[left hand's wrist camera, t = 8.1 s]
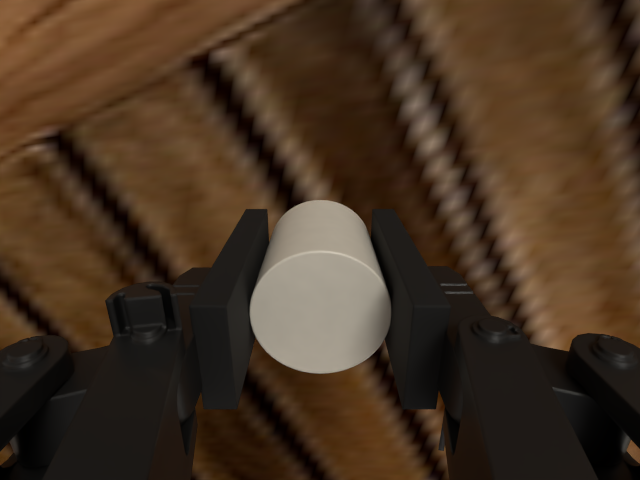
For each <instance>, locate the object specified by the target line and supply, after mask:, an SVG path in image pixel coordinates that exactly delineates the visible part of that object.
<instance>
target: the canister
mask: <svg viewBox="0 0 640 480" xmlns="http://www.w3.org/2000/svg"><path fill="white" fill-rule="evenodd" d="M391 309H392V307H391V299H390V296H389V292H388V289H387V286H386V283H385V280H384V277H383V274H382V271H381V269H380V266H379V263H378V260H377V257H376V254H375V251H374V248H373V245H372V242H371V239H370V236H369V233H368V230H367V228H366V226H365V224H364V223H363V221H362V220H361V219H360V217H359V216H358V215H357V214H356V213H355V212H353V211H352V210H351V209H349V208H348V207H346V206H344V205H342V204H339V203H336V202H332V201H327V200H314V201H308V202H305V203H302V204H299V205H297V206H295V207H293V208H292V209H290V210H289V211H288V212H286V213H285V214H284V215H283V216H282V217H281V219H280V220H279V221H278V223H277V224H276V226H275V228H274V230H273V233H272V236H271V239H270V242H269V245H268V248H267V251H266V254H265V257H264V260H263V263H262V266H261V269H260V272H259V275H258V279H257V282H256V285H255V288H254V291H253V294H252V297H251V301H250V307H249V316H250V323H251V326H252V330H253V332H254V334H255V336H256V339H257V340H258V342H259V343H260V345H261V346H262V347H263V349H264V350H265V351H266V352H267V353H268V354H269V355H270V356H272V357H273V358H274V359H276V360H277V361H278V362H280V363H282V364H284V365H285V366H288V367H290V368H293V369H295V370H299V371H302V372H308V373H319V374H322V373H333V372H339V371H343V370H346V369H349V368H351V367H354V366H356V365H358V364H360V363H361V362H363V361H364V360H366V359H367V358H369V357H370V356H371V355H372V354H373V353H374V352H375V351H376V350H377V349H378V348H379V347H380V345H381V344H382V342H383V341H384V339H385V337H386V335H387V333H388V330H389V327H390V322H391Z"/></svg>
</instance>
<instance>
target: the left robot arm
mask: <svg viewBox="0 0 640 480" xmlns="http://www.w3.org/2000/svg"><path fill="white" fill-rule="evenodd" d="M371 242H372V245H373V248H374V251H375V254H376V257H377V260H378V263H379V266H380V269H381V271H382V274H383V277H384V280H385V283H386V286H387V289H388V292H389V296H390V299H391V307H392V309H391V322H390V327H389V330H388V333H387V335H386V337H385V342H386V346H387V349H388V353H389V357H390V361H391V365H392V369H393V373H394V377H395V381H396V385H397V389H398V393H399V397H400V400H401V404H402V408H403V409H436V405H437V398H438V391H440V394H441V397H442V399H443V402H444V404H445V411H444V417H443V424H442V430H441V436H440V443H439V450H442V451H444V447H445V448H446V456H447V464H448V472H449V480H640V464H639V463H638V462H637V461H636V460H634V459H633V458H632V457H631V456H630V454H629V453H628V452H627V451H626V450H627V448H628V445H629V443H630V440H632V441H633V442H634V443H635V444H636V445H637V446H638V447H639V448H640V348H638V347H636V346H635V345H633V344H630V343H628V342H626V341H623V340H622V339H620V338H617V337H614V336H612V337H611V336H610V335H605V334H592V333H587V334H581V335H578V336H576V337H575V338H574V339H573V340H572V343H571V346H570V350H569V351H563V350H558V349H553V348H548V347H542V346H538V345H534V344H530V342H529V340H528V338H527V336H526V335H525V334H524V333H523V331H522V330H521V329H520V328H519V327H517V326H516V325H514V324H513V323H511V322H509V321H506V320H504V319H501V318H499V317H494V316H491V315H490V314H489V313H488V311H487V310H486V309H485V307H484V306H483V305H482V303H481V302H480V301H479V299H478V298H477V296H476V295H475V294H473V291H472V290H471V288H470V287H469V286H467V283H466V282H465V280H464V279H463V278H462V276H461V275H460V274H459V273H457V272H455V271H454V270H452V269H451V268H449V267H447V266H427V265H426V263H425V261H424V260H423V258H422V256H421V255H420V253H419V251H418V250H417V248H416V246H415V245H414V243H413V241H412V240H411V238H410V236H409V234H408V233H407V231H406V229H405V228H404V226H403V224H402V223H401V221H400V219H399V218H398V216H397V214H396V213H395V211H394V209H373V210H372V229H371ZM268 245H269V234H268V215H267V209H246V210H245V212H244V214H243V215H242V217H241V219H240V221H239V222H238V224H237V226H236V227H235V229H234V231H233V232H232V234H231V236H230V237H229V239H228V241H227V242H226V244H225V246H224V247H223V249H222V251H221V253H220V254H219V256H218V258H217V259H216V261H215V263H214V264H213V266H212V268H191V269H190V270H188V271H187V272H185V273H183V274H182V275H180V276H179V277H178V279H177V280H176V282H175V283H174V284H173V286H172V285H171V284H168V283H164V282H144V283H138V284H134V285H131V286H128V287H125V288H122V289H120V290H118V291H117V292H115V293H113V294H111V295H110V296H109V297H108V298H107V299H106V300H105V302H106V306H107V310H108V314H109V319H110V323H111V327H112V331H113V335H114V337H113V339H112V341H111V343H110V345H109V346H105V347H101V348H96V349H91V350H86V351H81V352H75V353H71V351H70V348H69V344H68V341H66V340H65V339H64V338H63V337H60V336H54V335H46V336H35V337H31V338H26V339H23V340H20V341H18V342H17V343H14V344H12V345H10V346H7V347H5V348H4V349H2V350H1V351H0V451H1V450H2V449H3V448H4V447H5V446H6V445H7V444H8V443H9V441H10V444H11V446H12V449H13V451H14V453H13V454H12V455H11V456H10V458H9V459H8V460H7V461H5V462H4V463H3V464H2V465H0V480H191V473H192V465H193V457H194V449H195V441H196V433H197V418H196V411H195V406H196V403H197V400H198V398H199V395H200V393H202V400H203V407H204V409H237V407H238V403H239V399H240V395H241V392H242V388H243V384H244V380H245V376H246V372H247V368H248V364H249V360H250V356H251V352H252V348H253V345H254V341H255V337H256V336H255V334H254V332H253V330H252V326H251V323H250V316H249V307H250V301H251V297H252V294H253V291H254V288H255V285H256V282H257V279H258V275H259V272H260V269H261V266H262V263H263V260H264V257H265V254H266V251H267V248H268Z"/></svg>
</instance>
